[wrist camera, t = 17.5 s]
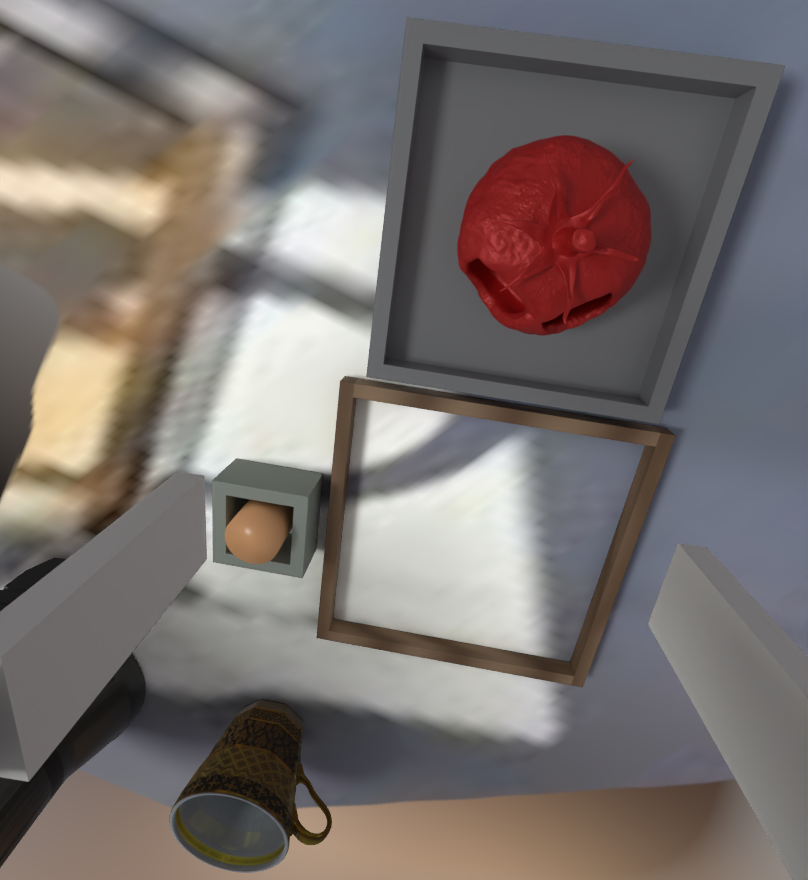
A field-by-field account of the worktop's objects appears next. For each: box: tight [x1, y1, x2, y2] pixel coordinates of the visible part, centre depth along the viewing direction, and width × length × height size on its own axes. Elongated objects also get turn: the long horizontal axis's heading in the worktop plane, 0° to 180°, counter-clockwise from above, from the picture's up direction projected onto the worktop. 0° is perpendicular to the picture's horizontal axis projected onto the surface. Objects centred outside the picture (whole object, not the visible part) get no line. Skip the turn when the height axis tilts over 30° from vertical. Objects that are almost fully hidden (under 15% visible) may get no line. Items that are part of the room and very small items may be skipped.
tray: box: [366, 17, 785, 424], centre depth 29 cm, size 19×19×3 cm
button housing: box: [212, 459, 323, 578], centre depth 37 cm, size 7×7×4 cm
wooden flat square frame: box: [317, 376, 676, 687], centre depth 38 cm, size 23×23×2 cm
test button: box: [225, 499, 294, 564], centre depth 36 cm, size 4×4×4 cm
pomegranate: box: [457, 135, 651, 336], centre depth 25 cm, size 10×10×9 cm
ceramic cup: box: [169, 700, 332, 873], centre depth 44 cm, size 13×10×10 cm
